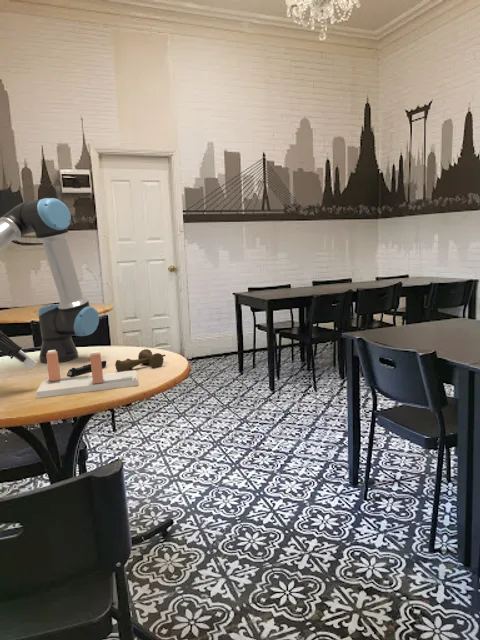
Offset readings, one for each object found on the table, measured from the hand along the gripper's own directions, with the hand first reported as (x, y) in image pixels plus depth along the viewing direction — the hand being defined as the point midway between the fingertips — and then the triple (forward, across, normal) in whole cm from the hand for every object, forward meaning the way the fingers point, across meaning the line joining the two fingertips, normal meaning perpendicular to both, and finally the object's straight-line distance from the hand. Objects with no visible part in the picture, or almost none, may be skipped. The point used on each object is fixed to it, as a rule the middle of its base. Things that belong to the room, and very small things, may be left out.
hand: (34, 365), depth 150 cm
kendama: (+30, -13, +19) cm, 38 cm away
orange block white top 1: (+8, -1, 0) cm, 8 cm away
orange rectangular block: (+18, +9, +10) cm, 23 cm away
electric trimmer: (+16, -17, +4) cm, 24 cm away
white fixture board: (+17, +4, +6) cm, 19 cm away
